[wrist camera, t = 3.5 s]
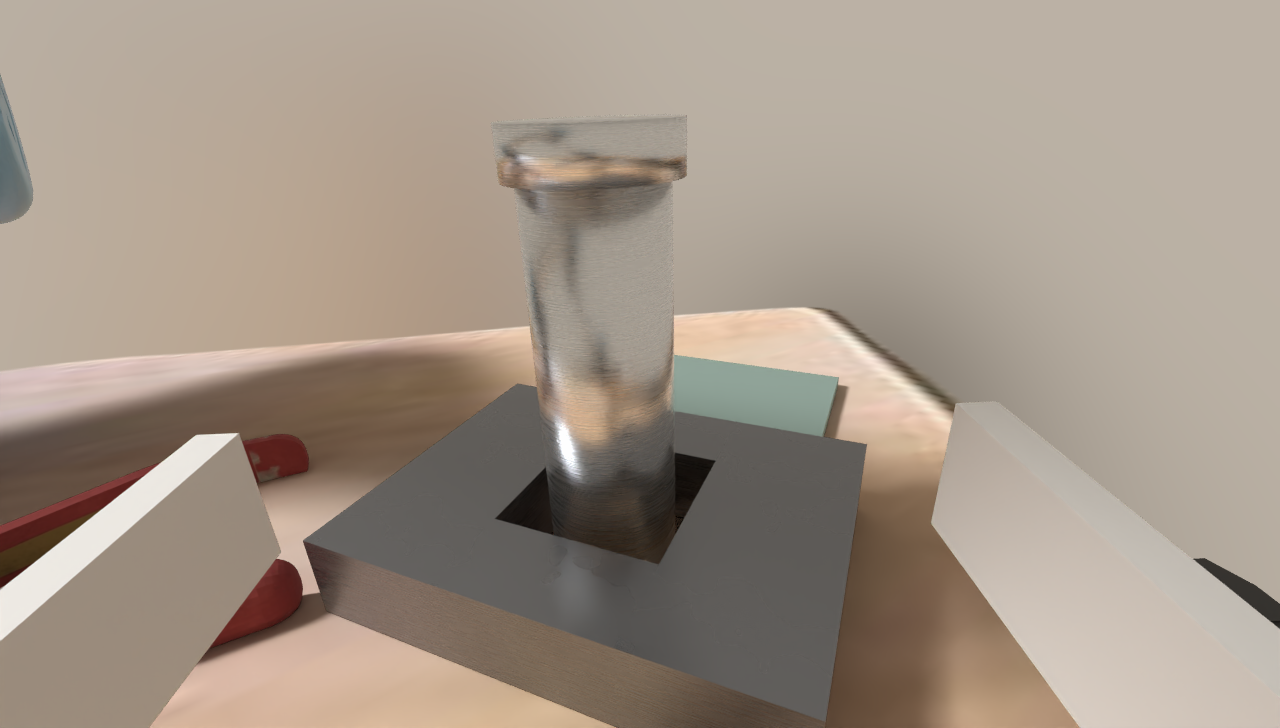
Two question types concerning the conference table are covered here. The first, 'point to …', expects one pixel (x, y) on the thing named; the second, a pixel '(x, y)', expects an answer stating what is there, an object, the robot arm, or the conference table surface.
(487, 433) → the socket plate
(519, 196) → the steel pin
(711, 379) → the rubber mat
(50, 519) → the pliers
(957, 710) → the conference table surface
